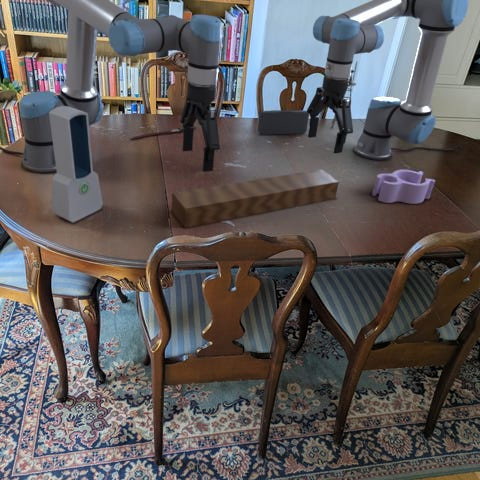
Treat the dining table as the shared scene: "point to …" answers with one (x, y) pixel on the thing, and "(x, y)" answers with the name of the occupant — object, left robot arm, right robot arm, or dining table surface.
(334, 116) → the miniature windmill
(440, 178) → the dining table surface
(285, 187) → the slab
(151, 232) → the dining table surface
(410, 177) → the clip
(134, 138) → the sword
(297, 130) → the handheld gaming console
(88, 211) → the electronic device
